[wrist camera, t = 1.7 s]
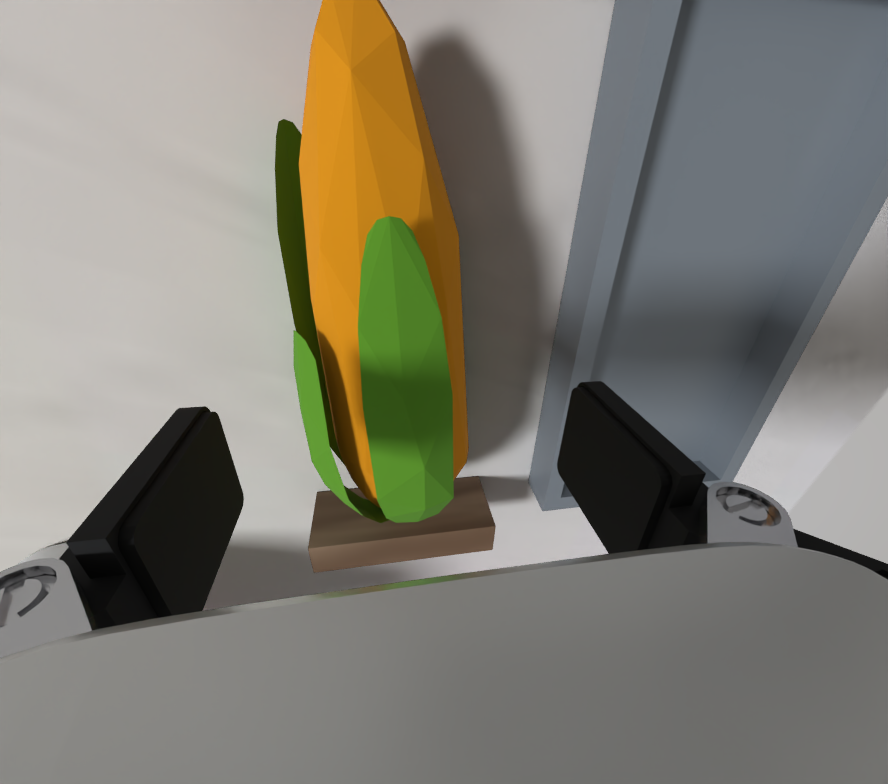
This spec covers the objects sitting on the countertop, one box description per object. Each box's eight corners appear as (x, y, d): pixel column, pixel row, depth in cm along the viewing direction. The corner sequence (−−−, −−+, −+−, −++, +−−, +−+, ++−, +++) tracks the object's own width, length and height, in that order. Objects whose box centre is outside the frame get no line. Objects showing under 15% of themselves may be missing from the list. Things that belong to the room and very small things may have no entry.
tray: (627, -65, 13) (676, -109, 11) (933, -27, 15) (1025, -58, 13) (528, 482, 26) (542, 511, 24) (700, 464, 28) (728, 489, 26)
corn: (331, 594, 16) (81, -156, 6) (333, 473, 23) (214, 8, 12) (497, 555, 18) (530, -118, 7) (455, 450, 24) (440, 12, 14)
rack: (183, -175, 11) (94, -333, 7) (532, -125, 12) (595, -236, 9) (321, 515, 24) (313, 572, 21) (476, 498, 26) (492, 549, 22)
